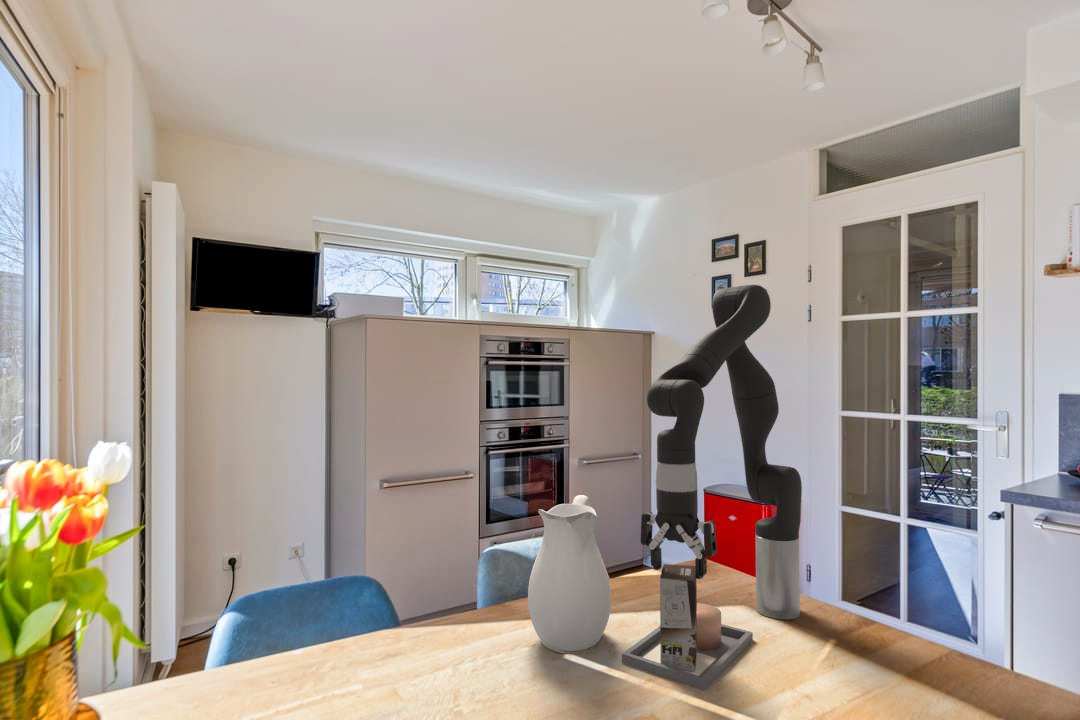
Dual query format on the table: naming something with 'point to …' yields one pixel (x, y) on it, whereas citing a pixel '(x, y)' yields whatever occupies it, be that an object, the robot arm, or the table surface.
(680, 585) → the coffee box
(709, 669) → the serving tray
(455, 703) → the table surface
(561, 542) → the pitcher
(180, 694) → the table surface
